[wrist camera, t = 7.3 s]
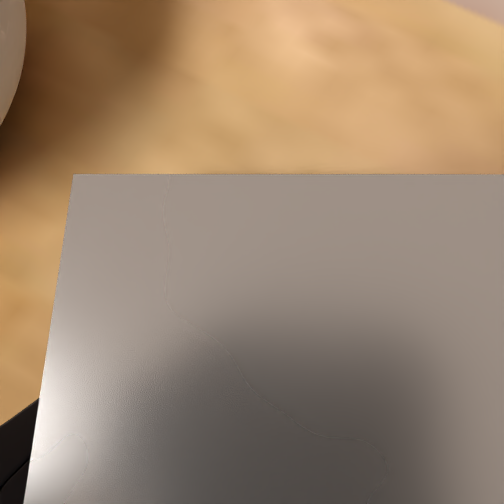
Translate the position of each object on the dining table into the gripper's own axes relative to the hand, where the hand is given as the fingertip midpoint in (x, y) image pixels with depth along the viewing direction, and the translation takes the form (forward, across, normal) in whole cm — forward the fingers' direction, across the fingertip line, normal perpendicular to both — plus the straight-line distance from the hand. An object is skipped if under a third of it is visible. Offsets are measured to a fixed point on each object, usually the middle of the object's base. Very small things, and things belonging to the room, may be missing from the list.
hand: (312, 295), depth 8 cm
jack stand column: (+3, 0, +5) cm, 6 cm away
